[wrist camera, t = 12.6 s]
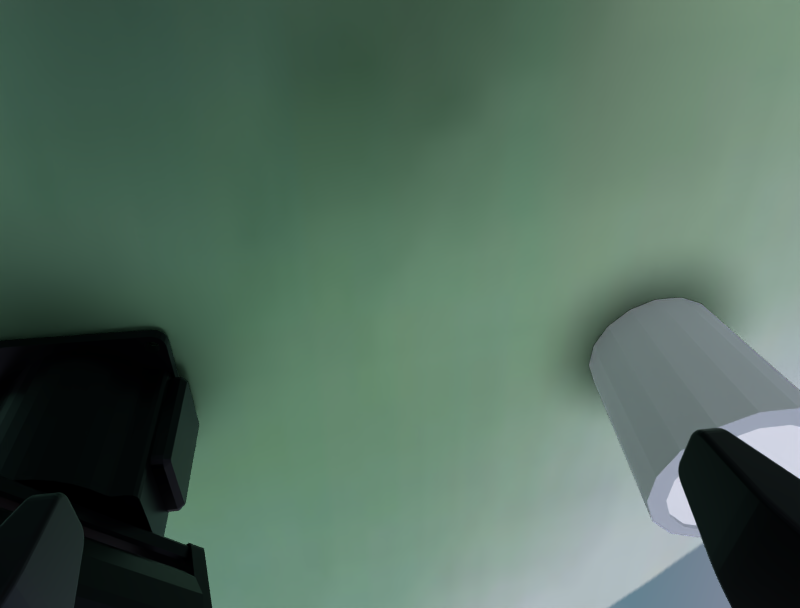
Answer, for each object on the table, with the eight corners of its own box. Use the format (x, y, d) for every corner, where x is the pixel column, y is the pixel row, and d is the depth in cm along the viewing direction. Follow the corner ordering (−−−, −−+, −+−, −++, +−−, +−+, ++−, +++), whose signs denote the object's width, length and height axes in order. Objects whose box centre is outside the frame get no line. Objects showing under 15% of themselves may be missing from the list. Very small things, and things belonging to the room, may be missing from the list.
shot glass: (611, 277, 24) (707, 406, 18) (759, 291, 25) (889, 415, 20) (553, 403, 28) (617, 541, 22) (685, 408, 29) (776, 539, 24)
